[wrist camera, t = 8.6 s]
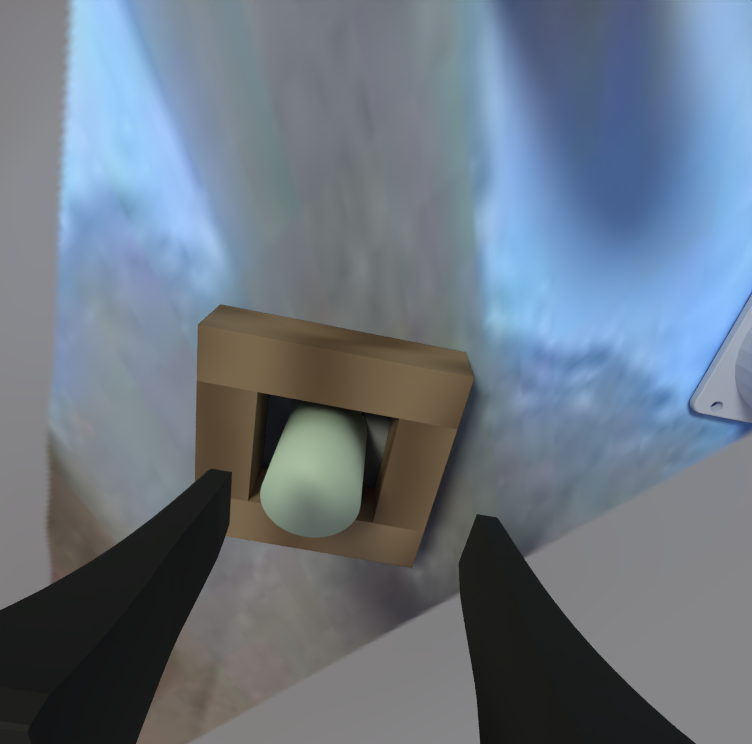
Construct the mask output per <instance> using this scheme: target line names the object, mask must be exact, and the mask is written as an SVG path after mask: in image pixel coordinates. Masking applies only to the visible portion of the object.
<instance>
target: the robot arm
mask: <svg viewBox="0 0 752 744" xmlns="http://www.w3.org/2000/svg"><path fill="white" fill-rule="evenodd" d="M715 402H717V403H716V404H715V405H714V406H712V407H711V405H712V404H713V403H715ZM690 406H691V407H692V408H693V409H694V410H695V411H696V412H698V413H701V414H706V415H711V416H716V417H722V418H727V419H732V420H737V421H742V422H747V423H752V295H751V297H750V298H749V300H748V302H747V303H746V305H745V307H744V309H743V310H742V312H741V314H740V315H739V317H738V319H737V321H736V322H735V324H734V326H733V327H732V329H731V331H730V333H729V334H728V336H727V338H726V339H725V341H724V343H723V345H722V346H721V348H720V350H719V351H718V353H717V355H716V357H715V358H714V360H713V362H712V363H711V365H710V367H709V369H708V370H707V372H706V374H705V375H704V377H703V379H702V381H701V382H700V384H699V386H698V388H697V389H696V391H695V393H694V394H693V396H692V398H691V400H690ZM231 485H232V472H229V471H223V470H217V469H209V470H208V471H206V472H205V473H204V474H203V475H202V476H201V477H200V478H199V479H198V480H197V481H195V482H194V483H193V484H192V485H191V486H190V487H189V488H188V489H186V490H185V491H184V492H183V493H182V494H181V495H180V496H178V497H177V498H176V499H175V500H174V501H172V502H171V503H170V504H169V505H168V506H166V507H165V508H164V509H163V510H162V511H160V512H159V513H158V514H157V515H155V516H154V517H153V518H152V519H150V520H149V521H148V522H146V523H145V524H144V525H142V526H141V527H140V528H138V529H137V530H136V531H134V532H133V533H132V534H130V535H129V536H128V537H126V538H125V539H124V540H122V541H121V542H119V543H118V544H116V545H115V546H113V547H112V548H110V549H109V550H107V551H106V552H104V553H103V554H101V555H100V556H98V557H97V558H95V559H94V560H92V561H90V562H89V563H87V564H86V565H84V566H82V567H81V568H79V569H77V570H75V571H74V572H72V573H70V574H69V575H67V576H65V577H64V578H62V579H60V580H58V581H57V582H55V583H53V584H51V585H49V586H48V587H46V588H44V589H42V590H40V591H38V592H36V593H34V594H32V595H30V596H28V597H26V598H24V599H22V600H20V601H18V602H16V603H15V604H12V605H10V606H8V607H6V608H4V609H2V610H0V744H136V742H137V739H138V737H139V734H140V731H141V728H142V726H143V723H144V721H145V718H146V715H147V713H148V710H149V707H150V705H151V702H152V700H153V697H154V694H155V692H156V689H157V687H158V684H159V682H160V679H161V677H162V674H163V671H164V669H165V666H166V664H167V661H168V659H169V656H170V654H171V651H172V649H173V647H174V645H175V642H176V640H177V638H178V636H179V634H180V632H181V630H182V628H183V626H184V624H185V622H186V620H187V618H188V616H189V614H190V612H191V610H192V608H193V606H194V604H195V602H196V600H197V598H198V596H199V594H200V592H201V590H202V588H203V586H204V584H205V582H206V580H207V578H208V576H209V574H210V572H211V570H212V568H213V566H214V564H215V562H216V560H217V557H218V555H219V552H220V550H221V547H222V544H223V541H224V539H225V536H226V533H227V530H228V527H229V525H230V505H231ZM459 581H460V598H461V605H462V611H463V617H464V622H465V629H466V634H467V640H468V646H469V652H470V658H471V663H472V670H473V675H474V682H475V689H476V696H477V707H478V720H479V733H480V744H695V743H694V742H693V741H692V740H691V739H689V738H688V737H687V736H686V735H684V734H683V733H682V732H681V731H680V730H678V729H677V728H676V727H675V726H674V725H672V724H671V723H670V722H669V721H668V720H667V719H666V718H664V717H663V716H662V715H661V714H660V713H659V712H658V711H657V710H656V709H654V708H653V707H652V706H651V705H650V704H649V703H648V702H647V701H646V700H645V699H643V698H642V697H641V696H640V695H639V694H638V693H637V692H636V691H635V690H634V689H633V688H632V687H631V686H630V685H629V684H628V683H627V682H626V681H625V680H624V679H623V678H622V677H621V676H620V675H619V674H618V673H617V672H616V671H615V670H614V669H613V668H612V667H611V666H610V665H609V664H608V663H607V662H606V661H605V660H604V659H603V658H602V657H601V656H600V655H599V654H598V653H597V652H596V650H595V649H594V648H593V647H592V646H591V645H590V644H589V643H588V642H587V640H586V639H585V638H584V637H583V636H582V635H581V633H580V632H579V631H578V630H577V629H576V628H575V627H574V626H573V624H572V623H571V622H570V621H569V619H568V618H567V617H566V616H565V614H564V613H563V612H562V611H561V609H560V608H559V607H558V605H557V604H556V603H555V602H554V600H553V599H552V598H551V596H550V595H549V594H548V592H547V591H546V590H545V588H544V587H543V585H542V584H541V583H540V582H539V580H538V578H537V577H536V576H535V574H534V573H533V571H532V570H531V568H530V567H529V566H528V564H527V562H526V561H525V559H524V558H523V556H522V555H521V553H520V552H519V550H518V549H517V547H516V546H515V544H514V543H513V541H512V539H511V538H510V536H509V535H508V533H507V532H506V530H505V529H504V527H503V526H502V524H501V522H500V521H499V519H498V518H496V517H490V516H484V515H479V514H477V516H476V518H475V521H474V524H473V526H472V529H471V532H470V534H469V537H468V540H467V542H466V545H465V548H464V550H463V553H462V556H461V558H460V561H459Z"/></svg>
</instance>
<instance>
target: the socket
mask: <svg viewBox="0 0 752 744" xmlns="http://www.w3.org/2000/svg"><path fill="white" fill-rule="evenodd" d="M473 381H474V375H473V372H472V369H471V366H470V363H469V360H468V358H467V355H466V352H461V351H456V350H450V349H445V348H440V347H435V346H430V345H425V344H420V343H415V342H410V341H404V340H399V339H394V338H389V337H384V336H379V335H374V334H369V333H364V332H358V331H353V330H348V329H343V328H338V327H333V326H328V325H323V324H317V323H312V322H307V321H302V320H297V319H292V318H287V317H282V316H277V315H271V314H266V313H261V312H256V311H251V310H246V309H241V308H236V307H231V306H225V305H219V306H218V307H217V308H216V309H215V310H214V311H213V312H211V313H210V314H209V315H208V316H207V317H206V318H205V319H204V320H202V321H201V322H200V323H199V324H198V349H197V402H196V455H195V481H197V480H198V479H199V478H200V477H201V476H202V475H203V474H204V473H205V472H206V471H208V470H209V469H217V470H223V471H229V472H232V485H231V505H230V525H229V527H228V530H227V533H226V536H228V537H234V538H240V539H246V540H252V541H258V542H264V543H270V544H275V545H281V546H287V547H293V548H299V549H305V550H311V551H317V552H323V553H328V554H334V555H340V556H346V557H352V558H358V559H364V560H370V561H375V562H381V563H387V564H393V565H399V566H405V567H411V568H412V567H413V564H414V561H415V558H416V555H417V551H418V548H419V545H420V542H421V539H422V536H423V533H424V530H425V527H426V524H427V521H428V518H429V515H430V512H431V509H432V506H433V503H434V500H435V497H436V494H437V491H438V487H439V484H440V481H441V478H442V475H443V472H444V469H445V466H446V463H447V460H448V457H449V454H450V451H451V448H452V445H453V442H454V439H455V436H456V433H457V430H458V426H459V423H460V420H461V417H462V414H463V411H464V408H465V405H466V402H467V399H468V396H469V393H470V390H471V387H472V384H473ZM269 394H271V395H276V396H281V397H287V398H292V399H297V400H303V401H308V402H313V403H319V404H324V405H330V406H335V407H340V408H346V409H351V410H356V411H362V412H367V413H372V414H378V415H383V416H388V417H392V421H391V425H390V429H389V433H388V437H387V441H386V446H385V450H384V454H383V458H382V462H381V466H380V470H379V474H378V478H377V482H376V486H375V488H372V487H367V486H362V495H361V505H360V510H359V513H358V515H357V517H356V519H355V520H354V522H353V523H352V524H351V525H350V526H349V527H347V528H346V529H345V530H343V531H341V532H339V533H337V534H334V535H331V536H327V537H318V538H314V537H304V536H299V535H296V534H292V533H290V532H288V531H286V530H284V529H282V528H280V527H279V526H278V525H276V524H275V523H274V522H273V521H272V520H271V519H270V518H269V517H268V516H267V514H266V513H265V511H264V509H263V507H262V504H261V499H260V490H261V486H262V483H263V481H264V478H265V476H266V473H267V471H268V469H266V468H262V462H263V452H264V443H265V433H266V423H267V413H268V403H269Z"/></svg>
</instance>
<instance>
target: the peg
mask: <svg viewBox="0 0 752 744" xmlns="http://www.w3.org/2000/svg"><path fill="white" fill-rule="evenodd" d="M366 443H367V424H366V421H365V419H364V417H363V415H362V414H361V412H360V411H356V410H351V409H346V408H340V407H335V406H330V405H324V404H319V403H313V402H308V401H301V402H300V403H299V404H297V405H296V406H295V407H294V409H293V410H292V411H291V413H290V415H289V418H288V420H287V423H286V425H285V428H284V430H283V433H282V435H281V438H280V440H279V443H278V445H277V448H276V450H275V453H274V455H273V458H272V460H271V463H270V466H269V468H268V471H267V473H266V476H265V478H264V481H263V483H262V486H261V490H260V499H261V504H262V507H263V509H264V511H265V513H266V514H267V516H268V517H269V518H270V519H271V520H272V521H273V522H274V523H275V524H276V525H278V526H279V527H280V528H282V529H284V530H286V531H288V532H290V533H292V534H296V535H299V536H304V537H314V538H318V537H327V536H331V535H334V534H337V533H339V532H341V531H343V530H345V529H346V528H347V527H349V526H350V525H351V524H352V523H353V522H354V520H355V519H356V517H357V515H358V513H359V510H360V505H361V495H362V485H363V474H364V464H365V453H366Z"/></svg>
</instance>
